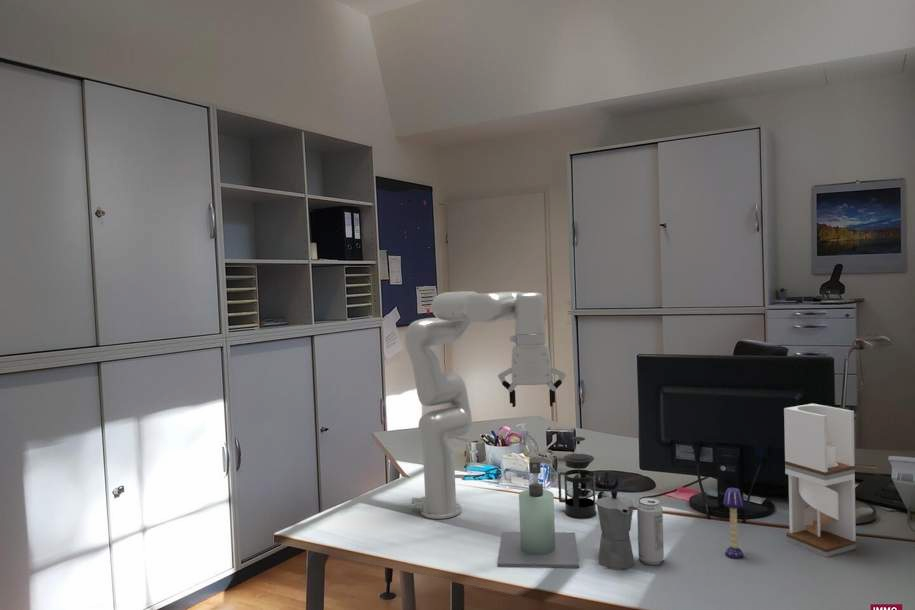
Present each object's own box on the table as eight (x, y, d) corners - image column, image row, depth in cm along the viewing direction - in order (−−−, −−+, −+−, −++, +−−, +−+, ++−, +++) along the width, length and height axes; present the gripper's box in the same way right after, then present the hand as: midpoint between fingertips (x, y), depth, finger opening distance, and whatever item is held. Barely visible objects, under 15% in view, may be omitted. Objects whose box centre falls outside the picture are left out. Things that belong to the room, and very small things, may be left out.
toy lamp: (721, 551, 166) (720, 486, 165) (740, 550, 166) (738, 485, 165) (729, 559, 161) (727, 492, 161) (748, 558, 161) (746, 492, 161)
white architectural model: (786, 540, 171) (784, 408, 169) (815, 532, 175) (812, 403, 173) (826, 557, 160) (824, 416, 159) (855, 548, 165) (853, 411, 163)
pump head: (529, 490, 165) (529, 466, 165) (530, 479, 173) (529, 457, 173) (541, 490, 164) (540, 466, 164) (541, 479, 173) (540, 457, 172)
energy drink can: (644, 553, 167) (643, 495, 166) (667, 559, 163) (666, 499, 162) (634, 561, 162) (632, 502, 161) (658, 567, 158) (656, 507, 158)
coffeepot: (646, 570, 157) (644, 496, 156) (610, 576, 155) (608, 501, 154) (617, 545, 172) (615, 478, 171) (584, 550, 170) (581, 482, 169)
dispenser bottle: (497, 566, 163) (494, 498, 162) (502, 534, 182) (500, 473, 182) (578, 568, 160) (576, 498, 159) (574, 535, 180) (572, 473, 179)
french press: (602, 509, 198) (599, 435, 197) (594, 521, 190) (592, 442, 189) (564, 505, 203) (561, 432, 202) (555, 516, 195) (552, 439, 194)
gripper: (495, 342, 166) (498, 409, 167) (564, 340, 164) (566, 408, 165) (497, 339, 174) (500, 403, 174) (563, 337, 171) (565, 402, 172)
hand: (532, 405), depth 170 cm, fingers open, 9 cm apart
